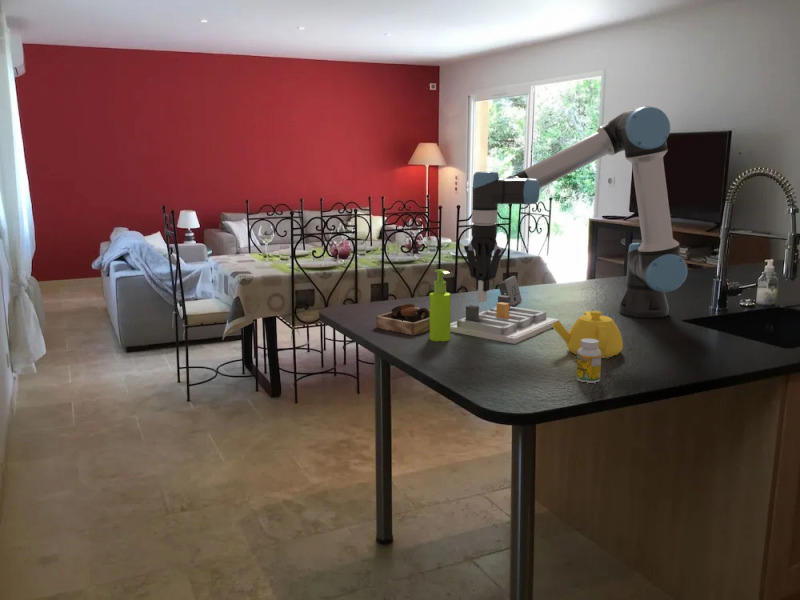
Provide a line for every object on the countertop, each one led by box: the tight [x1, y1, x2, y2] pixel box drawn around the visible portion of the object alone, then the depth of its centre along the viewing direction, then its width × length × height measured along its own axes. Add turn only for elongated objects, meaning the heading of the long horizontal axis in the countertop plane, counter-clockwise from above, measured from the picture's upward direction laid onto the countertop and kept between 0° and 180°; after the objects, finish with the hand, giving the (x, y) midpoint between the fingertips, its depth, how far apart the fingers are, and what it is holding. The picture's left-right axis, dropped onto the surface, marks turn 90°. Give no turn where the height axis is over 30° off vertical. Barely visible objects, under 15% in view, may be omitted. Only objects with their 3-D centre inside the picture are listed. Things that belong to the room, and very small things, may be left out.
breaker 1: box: [465, 304, 480, 322], centre depth 204 cm, size 3×3×6 cm
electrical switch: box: [497, 275, 523, 307], centre depth 240 cm, size 9×5×9 cm, turn 152°
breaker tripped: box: [496, 302, 510, 319], centre depth 208 cm, size 3×3×6 cm
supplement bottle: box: [576, 338, 602, 384], centre depth 160 cm, size 5×5×10 cm
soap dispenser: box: [429, 268, 451, 342], centre depth 194 cm, size 6×7×20 cm
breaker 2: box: [497, 294, 511, 311], centre depth 218 cm, size 3×3×6 cm
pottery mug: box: [390, 303, 430, 323], centre depth 211 cm, size 12×10×8 cm
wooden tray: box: [375, 306, 430, 336], centre depth 211 cm, size 15×17×4 cm
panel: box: [450, 306, 561, 345], centre depth 208 cm, size 24×27×4 cm
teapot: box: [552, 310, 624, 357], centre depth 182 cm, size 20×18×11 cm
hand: (482, 301), depth 212 cm, fingers closed
